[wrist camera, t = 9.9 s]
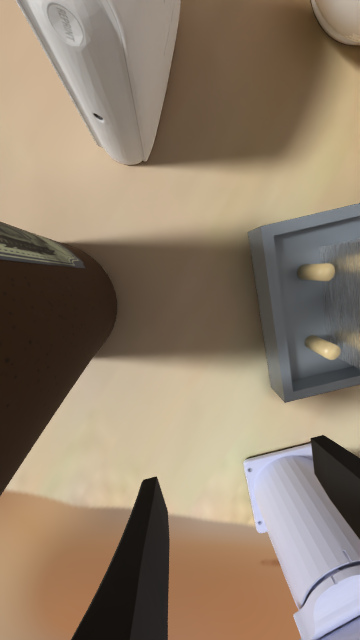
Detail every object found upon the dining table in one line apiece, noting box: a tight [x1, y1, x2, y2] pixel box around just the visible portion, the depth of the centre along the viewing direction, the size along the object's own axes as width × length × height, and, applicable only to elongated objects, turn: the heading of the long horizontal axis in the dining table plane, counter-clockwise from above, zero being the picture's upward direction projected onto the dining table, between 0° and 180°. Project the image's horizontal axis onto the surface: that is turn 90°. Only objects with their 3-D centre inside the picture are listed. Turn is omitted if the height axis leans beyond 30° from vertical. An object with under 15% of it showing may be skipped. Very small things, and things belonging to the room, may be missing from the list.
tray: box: [248, 203, 360, 403], centre depth 18 cm, size 14×14×4 cm
